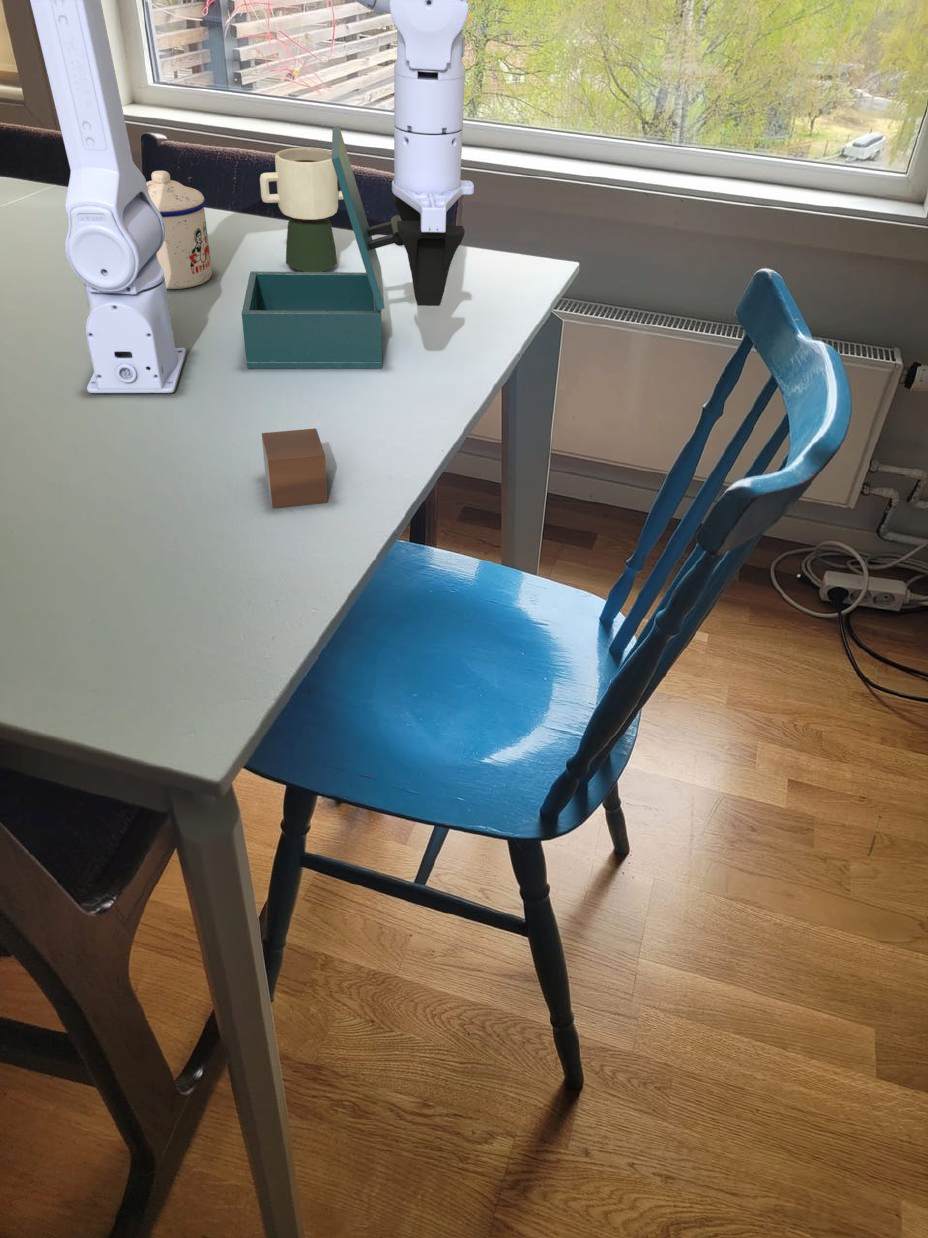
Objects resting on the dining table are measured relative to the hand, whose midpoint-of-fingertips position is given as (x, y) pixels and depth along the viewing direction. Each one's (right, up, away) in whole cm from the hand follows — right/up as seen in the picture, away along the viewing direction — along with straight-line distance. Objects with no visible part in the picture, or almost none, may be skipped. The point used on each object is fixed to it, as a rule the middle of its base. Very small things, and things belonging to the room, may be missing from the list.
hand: (425, 288), depth 89 cm
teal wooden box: (-12, -2, +12) cm, 17 cm away
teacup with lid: (-31, +11, +27) cm, 42 cm away
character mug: (-15, +13, +30) cm, 36 cm away
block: (-10, -20, -10) cm, 25 cm away
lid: (-7, +8, +5) cm, 12 cm away
